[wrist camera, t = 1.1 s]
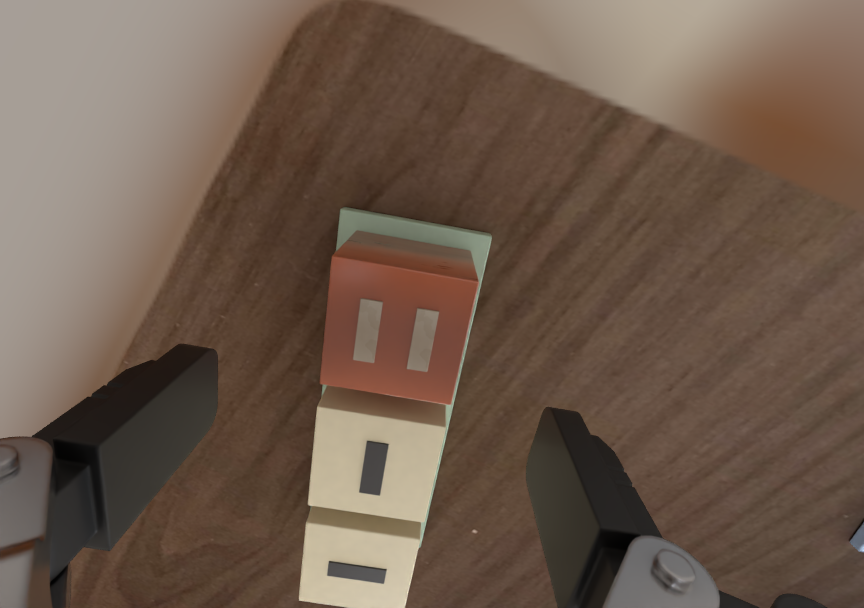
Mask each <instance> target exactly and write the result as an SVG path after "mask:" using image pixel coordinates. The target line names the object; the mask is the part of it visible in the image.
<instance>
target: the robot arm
mask: <svg viewBox="0 0 864 608" xmlns="http://www.w3.org/2000/svg"><path fill="white" fill-rule="evenodd" d="M217 404H218V355H217V352H216V351H215V350H214V349H211V348H205V347H199V346H193V345H187V344H178V345H177V346H175V347H174V348H173V349H171V350H170V351H169V352H167V353H166V354H165V355H163V356H162V357H161V358H159V359H158V360H157V361H154V360H150V361H147V362H145V363H142V364H139V365H137V366H134V367H132V368H129V369H126V370H125V371H124V372H122V373H121V374H119V375H118V376H117V377H115V378H114V379H112V380H111V381H109V382H108V384H107V386H106V385H104V386H102V387H101V388H100V389H98V390H97V391H96V392H94V393H93V394H92V396H91V397H87V398H86V399H84V400H83V401H81V402H80V403H79V404H77V405H76V406H74V407H73V408H71V409H70V410H69V411H67V412H66V413H64V414H63V415H61V416H60V417H59V418H57V419H56V420H54V421H53V422H51V423H50V424H49V425H47V426H46V427H44V428H43V429H42V430H40V431H39V432H37V433H36V434H35V435H33V436H32V437H8V438H2V439H0V608H70V599H71V565H70V561H71V560H72V559H73V558H74V557H75V556H76V555H77V553H78V552H79V551H80V550H81V549H82V548H83V547H86V548H93V549H100V550H106V551H110V550H111V549H112V548H113V546H114V545H115V544H116V543H117V542H118V540H119V539H120V538H121V537H122V536H123V534H124V533H125V532H126V531H127V529H128V528H129V527H130V526H131V525H132V523H133V522H134V521H135V520H136V518H137V517H138V516H139V515H140V514H141V512H142V511H143V510H144V509H145V508H146V506H147V505H148V504H149V503H150V501H151V500H152V499H153V498H154V497H155V495H156V494H157V493H158V492H159V490H160V489H161V488H162V487H163V486H164V484H165V483H166V482H167V481H168V480H169V478H170V477H171V476H172V475H173V473H174V472H175V471H176V470H177V469H178V467H179V466H180V465H181V464H182V462H183V461H184V460H185V459H186V458H187V456H188V455H189V454H190V453H191V452H192V450H193V449H194V448H195V447H196V445H197V444H198V443H199V442H200V441H201V439H202V438H203V437H204V436H205V434H206V433H207V432H208V431H209V429H210V427H211V426H212V424H213V421H214V419H215V416H216V412H217ZM526 481H527V487H528V491H529V495H530V499H531V503H532V507H533V510H534V514H535V518H536V522H537V526H538V530H539V534H540V538H541V542H542V546H543V550H544V554H545V558H546V562H547V566H548V570H549V574H550V578H551V582H552V586H553V590H554V594H555V598H556V602H557V606H558V608H759V607H757V606H755V605H752V604H750V603H748V602H745V601H743V600H741V599H738V598H736V597H733V596H731V595H729V594H726V593H724V592H722V591H720V590H718V588H717V586H716V584H715V582H714V580H713V578H712V577H711V575H710V574H709V573H708V571H707V570H706V569H705V568H704V567H703V565H702V564H701V563H700V562H699V561H698V560H696V559H695V558H694V557H693V556H692V555H691V554H689V553H688V552H687V551H685V550H684V549H682V548H681V547H679V546H677V545H676V544H674V543H672V542H670V541H667V540H665V539H663V538H662V536H661V534H660V532H659V530H658V529H657V527H656V525H655V523H654V521H653V520H652V518H651V516H650V514H649V513H648V511H647V509H646V507H645V505H644V504H643V502H642V500H641V498H640V497H639V495H638V493H637V491H636V489H635V488H634V487H632V482H631V481H630V479H629V477H628V475H627V473H625V472H624V468H623V466H622V465H621V463H620V461H619V459H618V457H617V456H616V454H615V452H614V451H613V450H612V449H611V448H610V447H609V446H608V445H607V444H606V443H604V442H603V441H602V440H601V439H600V438H599V437H598V436H594V435H590V433H589V431H588V429H587V427H586V425H585V423H584V421H583V419H582V417H581V415H580V414H579V413H578V412H575V411H570V410H564V409H558V408H552V407H546V408H545V409H544V411H543V413H542V415H541V418H540V422H539V425H538V428H537V431H536V434H535V437H534V440H533V443H532V447H531V450H530V453H529V456H528V460H527V466H526ZM770 608H827V607H825V606H824V605H822V604H820V603H818V602H816V601H814V600H812V599H809V598H806V597H804V596H800V595H797V594H783V595H780V596H779V597H777V598H776V600H775V601H774V603H773V604H772V606H771V607H770Z"/></svg>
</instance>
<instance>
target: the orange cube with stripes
mask: <svg viewBox="0 0 864 608" xmlns="http://www.w3.org/2000/svg"><path fill="white" fill-rule="evenodd" d="M478 286H479V280H478V276H477V272H476V269H475V265H474V261H473V257H472V253H471V251H469V250H464V249H458V248H453V247H447V246H442V245H436V244H431V243H425V242H419V241H414V240H408V239H403V238H397V237H392V236H386V235H381V234H375V233H369V232H364V231H358V230H356V231H355V232H354V233H353V234H352V235H351V236H350V237H349V239H348V240H347V241H346V242H345V243H344V244H343V245H342V246H341V247H340V248H339V249H338V250H337V251H336V252H335V253H334V254H333V255H332V258H331V269H330V279H329V289H328V300H327V310H326V320H325V331H324V341H323V352H322V362H321V372H320V384H324V385H330V386H336V387H342V388H348V389H354V390H360V391H366V392H373V393H379V394H385V395H391V396H397V397H403V398H409V399H415V400H421V401H428V402H434V403H440V404H446V405H451V404H452V400H453V395H454V391H455V386H456V382H457V378H458V373H459V369H460V365H461V360H462V356H463V351H464V347H465V343H466V338H467V334H468V330H469V325H470V321H471V317H472V312H473V308H474V303H475V299H476V295H477V290H478Z"/></svg>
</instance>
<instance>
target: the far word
mask: <svg viewBox="0 0 864 608" xmlns="http://www.w3.org/2000/svg"><path fill="white" fill-rule="evenodd" d="M850 543H851V544H852V545H853V546H854V547H855V548H856V549H857V550H858V551H860V552H864V522H863V524H862V525H861V527H860V528H859V529H858V531H857V532H856V533H855V535H854V536H853V538H852V539H851V540H850Z"/></svg>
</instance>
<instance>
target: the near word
mask: <svg viewBox="0 0 864 608" xmlns="http://www.w3.org/2000/svg"><path fill="white" fill-rule="evenodd" d="M356 230H358V231H364V232H369V233H375V234H381V235H386V236H392V237H397V238H403V239H408V240H414V241H419V242H425V243H431V244H436V245H442V246H447V247H453V248H458V249H464V250H469V251H471V253H472V257H473V261H474V265H475V269H476V272H477V276H478V280H479V286H478V290H477V295H476V299H475V303H474V308H473V312H472V317H471V321H470V325H469V330H468V334H467V338H466V343H465V347H464V351H463V356H462V360H461V365H460V369H459V373H458V378H457V382H456V386H455V391H454V395H453V400H452V404H451V405H446V404H440V403H434V402H428V401H421V400H415V399H409V398H403V397H397V396H391V395H385V394H379V393H373V392H366V391H360V390H354V389H348V388H342V387H336V386H330V385H324V384H323V387H322V397H321V400H320V402H319V404H318V406H317V413H316V424H315V434H314V444H313V455H312V465H311V476H310V486H309V496H308V505H311V507H310V513H309V516H308V519H307V521H306V528H305V539H304V549H303V560H302V570H301V580H300V591H299V600H300V601H306V602H313V603H320V604H327V605H334V606H341V607H348V608H405V605H406V600H407V596H408V592H409V587H410V583H411V578H412V574H413V570H414V565H415V561H416V557H417V552H418V548H420V547H421V543H422V539H423V534H424V530H425V526H426V521H427V517H428V513H429V508H430V504H431V500H432V495H433V491H434V487H435V482H436V478H437V474H438V470H439V465H440V461H441V457H442V452H443V448H444V444H445V439H446V435H447V431H448V426H449V422H450V418H451V413H452V409H453V405H454V400H455V396H456V392H457V387H458V383H459V379H460V374H461V370H462V366H463V361H464V357H465V353H466V348H467V344H468V340H469V335H470V331H471V327H472V322H473V318H474V314H475V309H476V305H477V301H478V296H479V292H480V288H481V283H482V279H483V275H484V270H485V266H486V262H487V257H488V253H489V249H490V244H491V240H492V236H491V234H490V233H485V232H479V231H474V230H468V229H463V228H457V227H452V226H446V225H441V224H436V223H430V222H425V221H419V220H414V219H408V218H403V217H397V216H392V215H386V214H381V213H375V212H370V211H364V210H359V209H353V208H348V207H343V208H342V209H341V210H340V216H339V226H338V236H337V246H336V251H337V250H338V249H339V248H340V247H341V246H342V245H343V244H344V243H345V242H346V241H347V240H348V239H349V237H350V236H351V235H352V234H353V233H354V232H355V231H356Z"/></svg>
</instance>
